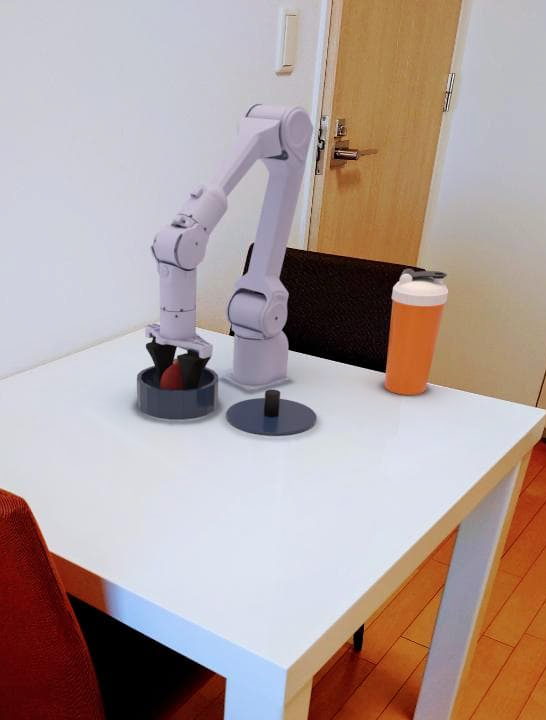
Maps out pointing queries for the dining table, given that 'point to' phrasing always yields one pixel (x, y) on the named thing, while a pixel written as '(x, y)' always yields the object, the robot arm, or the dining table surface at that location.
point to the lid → (271, 415)
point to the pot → (176, 396)
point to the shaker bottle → (414, 330)
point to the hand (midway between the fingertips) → (177, 388)
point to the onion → (172, 377)
